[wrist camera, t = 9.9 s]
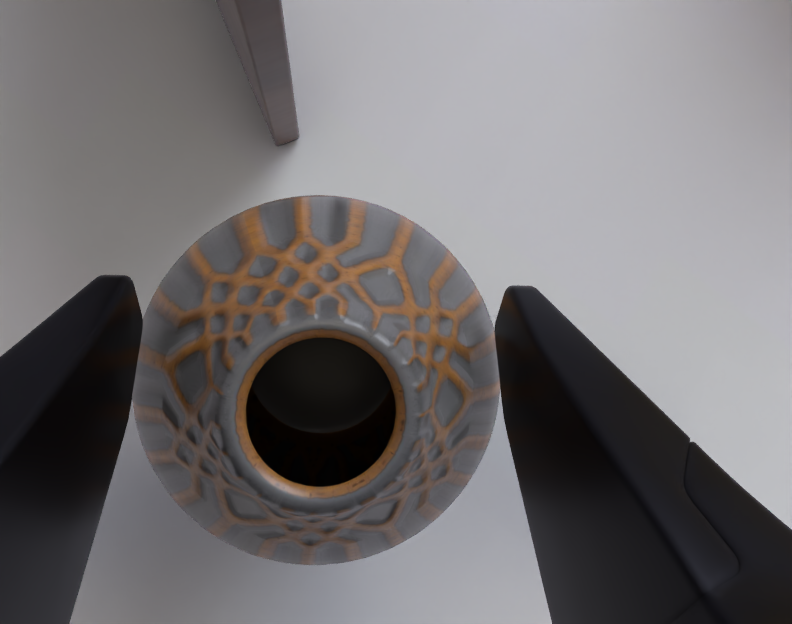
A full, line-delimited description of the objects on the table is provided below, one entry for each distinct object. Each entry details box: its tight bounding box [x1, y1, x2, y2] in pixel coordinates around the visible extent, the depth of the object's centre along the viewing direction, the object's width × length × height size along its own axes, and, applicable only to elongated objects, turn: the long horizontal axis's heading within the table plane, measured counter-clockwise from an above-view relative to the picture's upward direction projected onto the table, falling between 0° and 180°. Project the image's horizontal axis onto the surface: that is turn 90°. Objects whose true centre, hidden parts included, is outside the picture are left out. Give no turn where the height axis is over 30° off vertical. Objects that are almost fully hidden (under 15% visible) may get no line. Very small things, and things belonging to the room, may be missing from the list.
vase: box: [132, 195, 500, 565], centre depth 12 cm, size 7×7×9 cm
